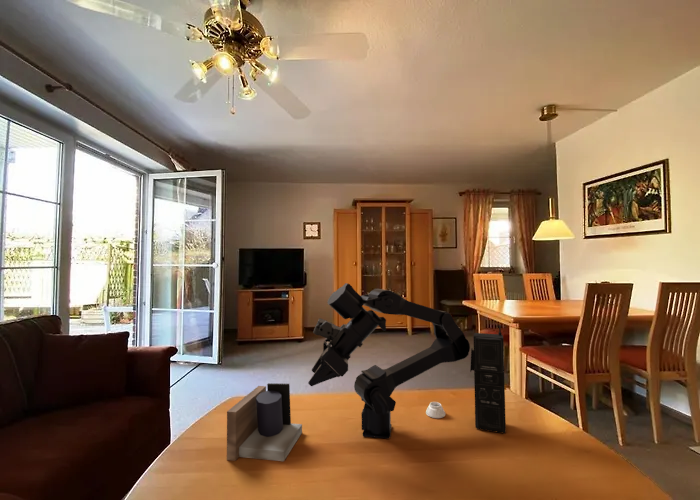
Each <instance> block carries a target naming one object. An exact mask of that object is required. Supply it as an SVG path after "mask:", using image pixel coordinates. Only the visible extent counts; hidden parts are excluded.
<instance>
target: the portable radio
mask: <svg viewBox="0 0 700 500" xmlns="http://www.w3.org/2000/svg"><path fill="white" fill-rule="evenodd" d="M501 327H502V326H501V325H498V334H497V333H482V332H481V333H480V332H475V333H473V347H472V348H470V349H471V350H470V351H471V352H470V370H469V371H470V373H472V371H473V372H474V374H473V375H474V376H473V378H474V379H473V381H474V382H473V383H474V413H475V414H474V424H475V425H474V426H475V427H474V428H476V430H481V429H483V430H482V431H487V430H489V432H493V431H497V432H496V433H499V432H503V433H502V434H506V433H505V432H507V430H506V429H507V427H506V426H507V425H506V423H507V421H506V389H505V348H504V347H505V346H504V344H505V343H504V340H505V339H504V335H503V334H502V332H501V330H502V329H501Z"/></svg>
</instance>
